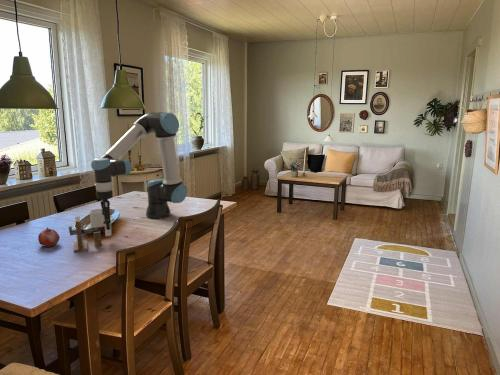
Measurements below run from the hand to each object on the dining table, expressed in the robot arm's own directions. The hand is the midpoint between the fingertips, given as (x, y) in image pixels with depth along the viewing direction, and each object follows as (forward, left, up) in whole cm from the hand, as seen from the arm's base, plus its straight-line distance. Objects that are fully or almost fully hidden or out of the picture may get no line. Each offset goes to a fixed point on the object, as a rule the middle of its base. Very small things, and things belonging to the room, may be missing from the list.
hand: (107, 231), depth 185 cm
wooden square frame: (+13, 0, -6) cm, 14 cm away
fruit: (+27, -9, -7) cm, 29 cm away
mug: (+1, -25, -7) cm, 26 cm away
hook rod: (+7, 0, -2) cm, 8 cm away
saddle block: (+5, 0, -6) cm, 8 cm away
